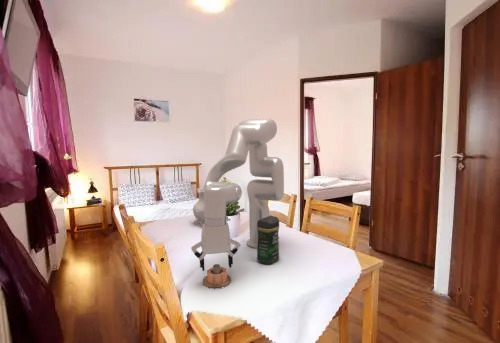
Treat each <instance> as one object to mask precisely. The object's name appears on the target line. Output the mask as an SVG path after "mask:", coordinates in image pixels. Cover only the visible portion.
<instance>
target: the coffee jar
mask: <svg viewBox="0 0 500 343" xmlns="http://www.w3.org/2000/svg"><path fill="white" fill-rule="evenodd" d="M257 229H258V248H256V249H257V251H256V260H257V262H259V263H260V264H262V265H271V264H273V263H275V262H277V261H278V260H279V259H280V248H279V239H278V236H279V231H280V219H279V218H278V216H273V215H269V216H268V217H265V218H263V219H260V220H258V223H257Z"/></svg>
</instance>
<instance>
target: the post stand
mask: <svg viewBox="0 0 500 343" xmlns="http://www.w3.org/2000/svg"><path fill="white" fill-rule="evenodd" d="M220 267H221V264H219V263H218V264H217V263H216V264H213V265H212V268H213V274H220ZM231 283H232V276H230V275H229V274H228V273H227V280H226V281H225V282H223V283H220V284H215V283H214V284H212V283H209V282H207V274H206V275H205V276H204V277H203V279H202V284H203V286H204V287H205V286H206V287H205V288H207V287H208V289H210V288H214V289H213V290H216V289H215V288H220V289H223V288H222V287H224V288H226V287H228V286H230V284H231ZM227 285H228V286H227ZM225 286H226V287H225Z"/></svg>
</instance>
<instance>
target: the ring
mask: <svg viewBox="0 0 500 343" xmlns="http://www.w3.org/2000/svg"><path fill="white" fill-rule="evenodd" d="M227 274H228V271H227V268H226V267H223V266H220V274H213V266H212V267H210V268H208V269H207V270H206V275H207V282H209V283H212V284H214V283H215V284H220V283H223V282H225V281H226V280H227Z"/></svg>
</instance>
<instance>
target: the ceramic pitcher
mask: <svg viewBox="0 0 500 343" xmlns="http://www.w3.org/2000/svg"><path fill="white" fill-rule="evenodd" d="M204 185H205V183H203V184H201V186H200V187H198V188H196V192H197V194H198V200H197V202H196V203H195V204H194V205H193V207H192V212H193V216H194V217H195V219H197V221H199V222H200V223H199V225H201V226H203V224H205V215H204Z"/></svg>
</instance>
